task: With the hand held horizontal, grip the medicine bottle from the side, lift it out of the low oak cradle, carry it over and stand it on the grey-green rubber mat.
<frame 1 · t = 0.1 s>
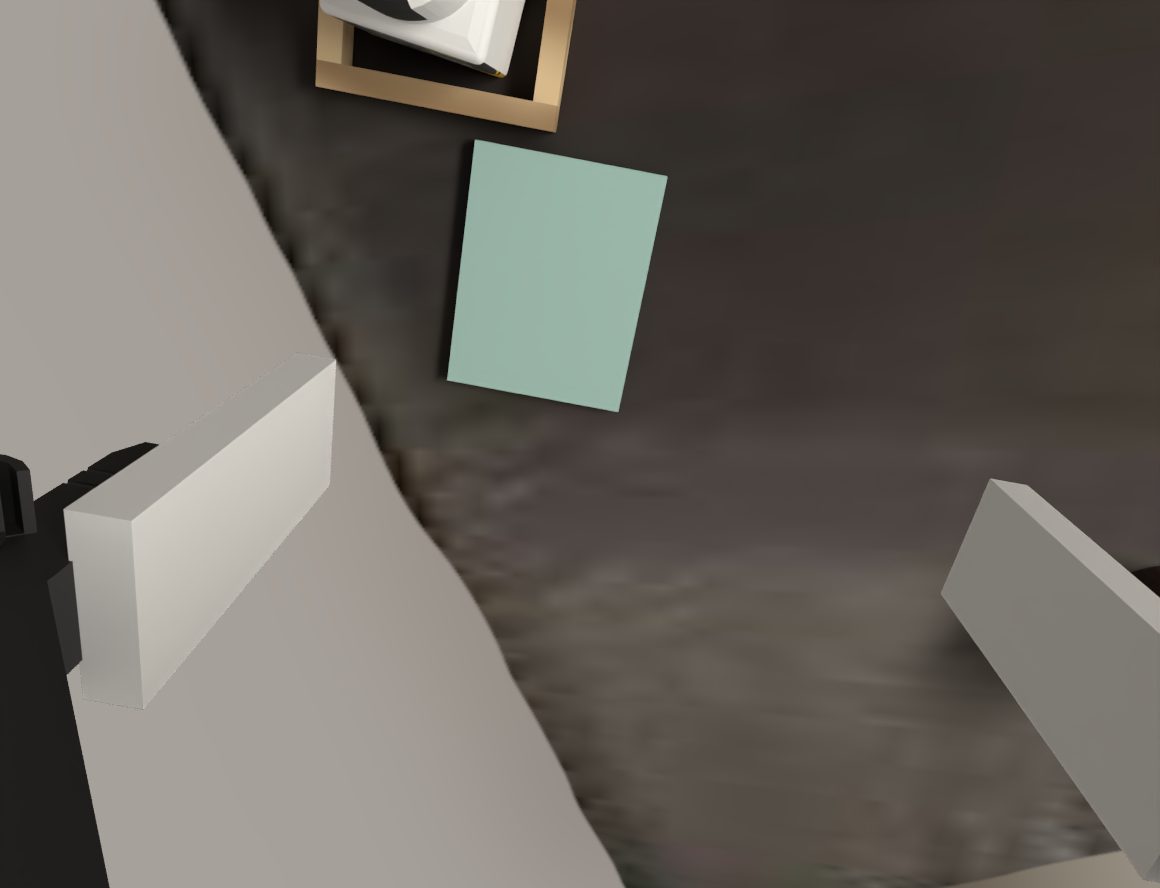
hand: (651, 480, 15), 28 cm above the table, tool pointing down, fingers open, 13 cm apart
rubber mat: (552, 281, 41), on the table
coffee mug: (1124, 607, 47), on the table
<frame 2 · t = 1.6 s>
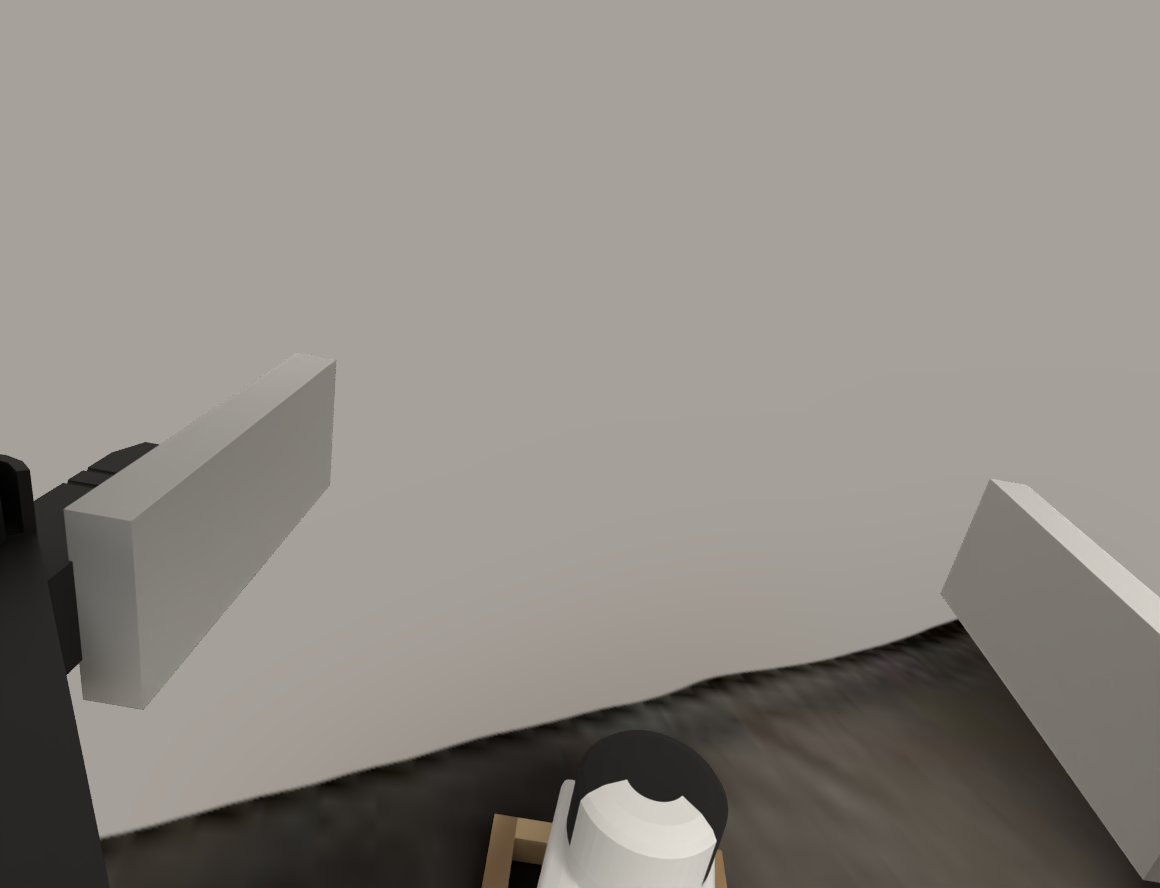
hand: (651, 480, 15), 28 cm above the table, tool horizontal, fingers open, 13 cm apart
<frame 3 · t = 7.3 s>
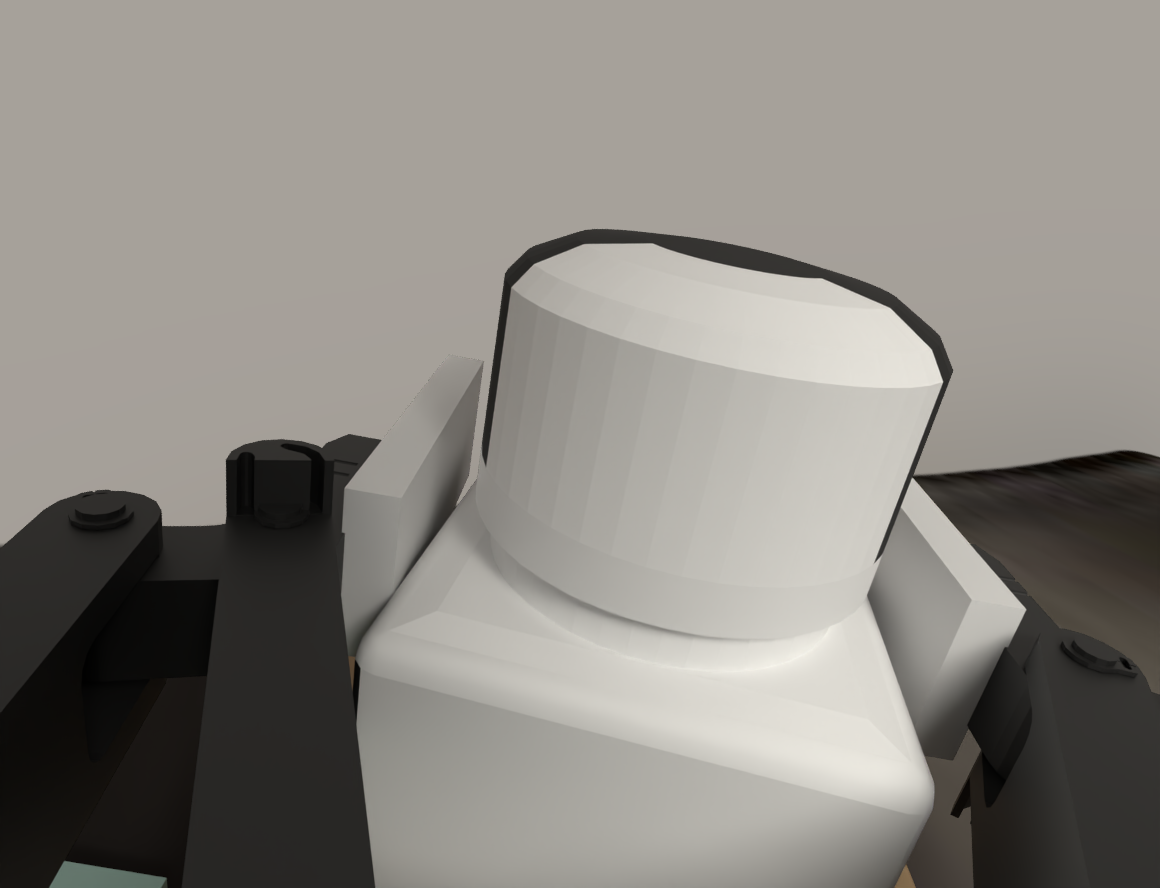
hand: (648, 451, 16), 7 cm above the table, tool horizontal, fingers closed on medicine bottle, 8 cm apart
oak cradle: (582, 871, 15), on the table
medicine bottle: (579, 879, 15), resting in oak cradle, touching gripper
when the fingers open (9 cm above the table, at t = 12.4 s): medicine bottle drops 1 cm, resting on rubber mat.
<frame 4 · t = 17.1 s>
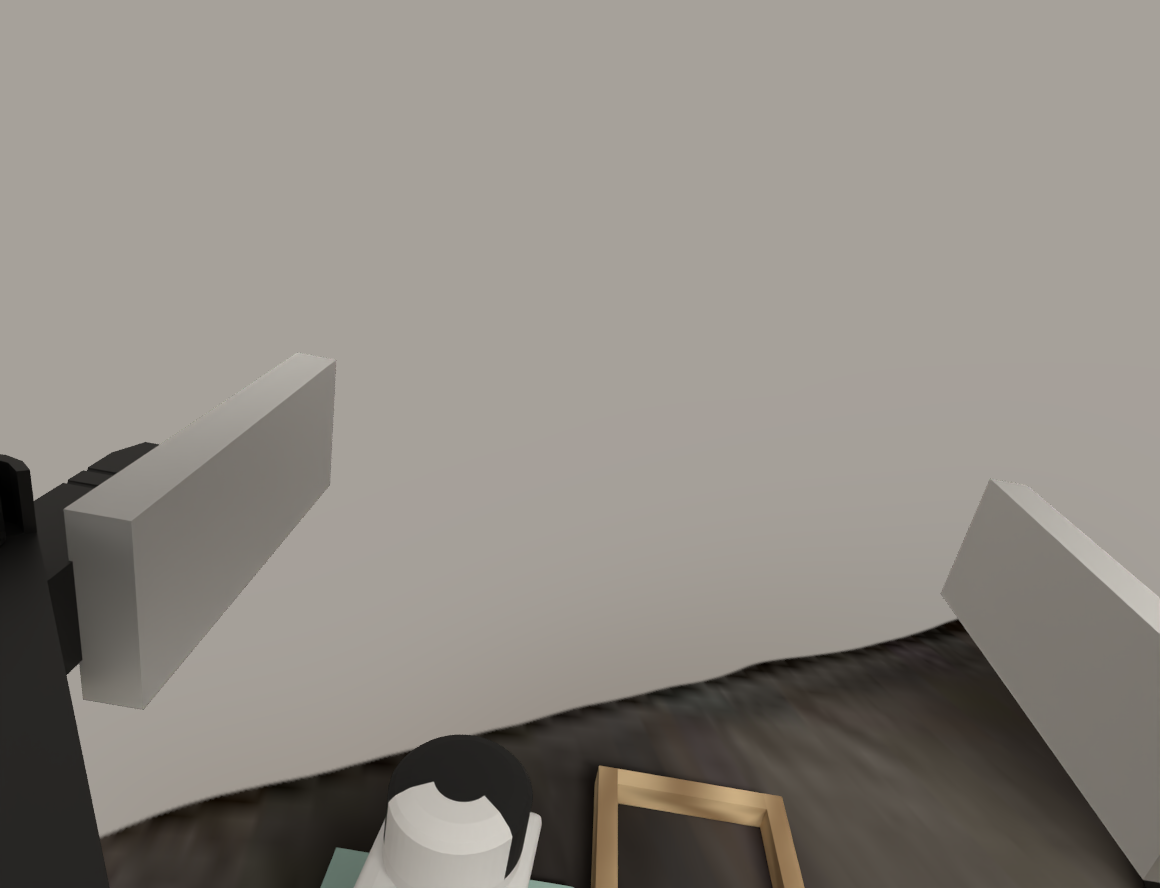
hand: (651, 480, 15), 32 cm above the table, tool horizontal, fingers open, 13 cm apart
oak cradle: (693, 884, 43), on the table
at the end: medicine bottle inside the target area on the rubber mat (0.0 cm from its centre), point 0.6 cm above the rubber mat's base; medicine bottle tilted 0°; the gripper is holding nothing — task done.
